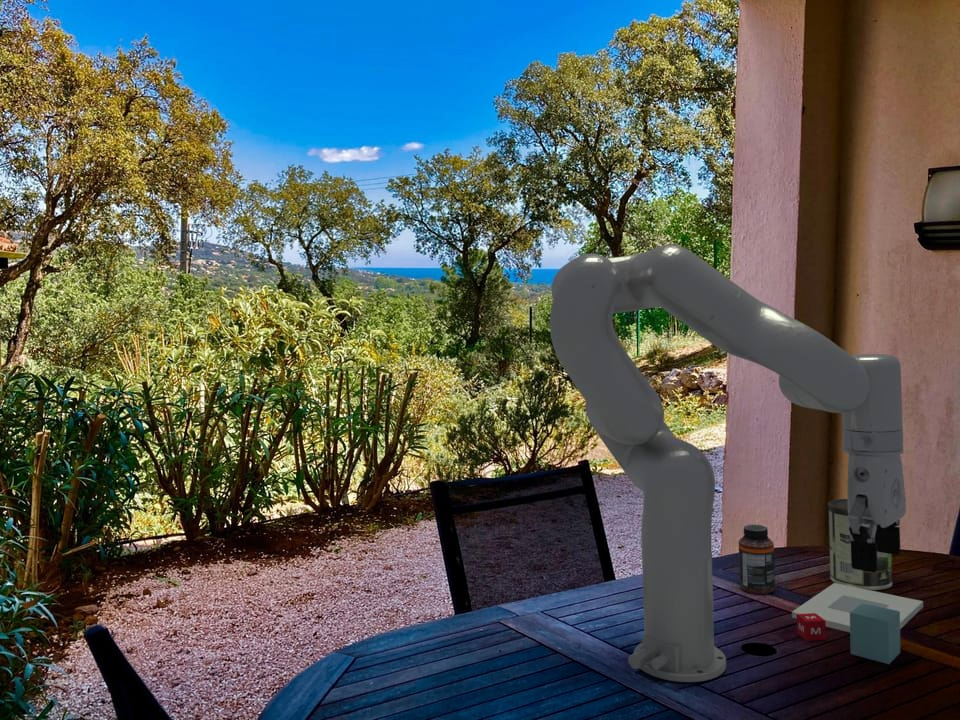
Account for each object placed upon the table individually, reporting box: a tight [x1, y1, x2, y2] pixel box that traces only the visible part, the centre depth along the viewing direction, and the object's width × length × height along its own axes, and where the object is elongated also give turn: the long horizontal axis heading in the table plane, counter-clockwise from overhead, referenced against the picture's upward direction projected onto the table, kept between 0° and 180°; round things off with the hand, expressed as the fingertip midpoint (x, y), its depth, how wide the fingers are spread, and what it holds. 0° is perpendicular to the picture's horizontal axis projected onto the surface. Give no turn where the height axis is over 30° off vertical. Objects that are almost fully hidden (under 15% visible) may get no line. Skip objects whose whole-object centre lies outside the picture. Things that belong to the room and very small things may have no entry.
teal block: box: [849, 603, 901, 665], centre depth 105 cm, size 5×5×6 cm
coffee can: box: [827, 498, 893, 591], centre depth 134 cm, size 10×10×14 cm
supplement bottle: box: [738, 524, 776, 595], centre depth 132 cm, size 6×6×11 cm
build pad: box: [791, 582, 924, 633], centre depth 120 cm, size 18×14×1 cm
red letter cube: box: [796, 613, 827, 642], centre depth 111 cm, size 3×3×3 cm
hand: (876, 561), depth 105 cm, fingers open, 9 cm apart
